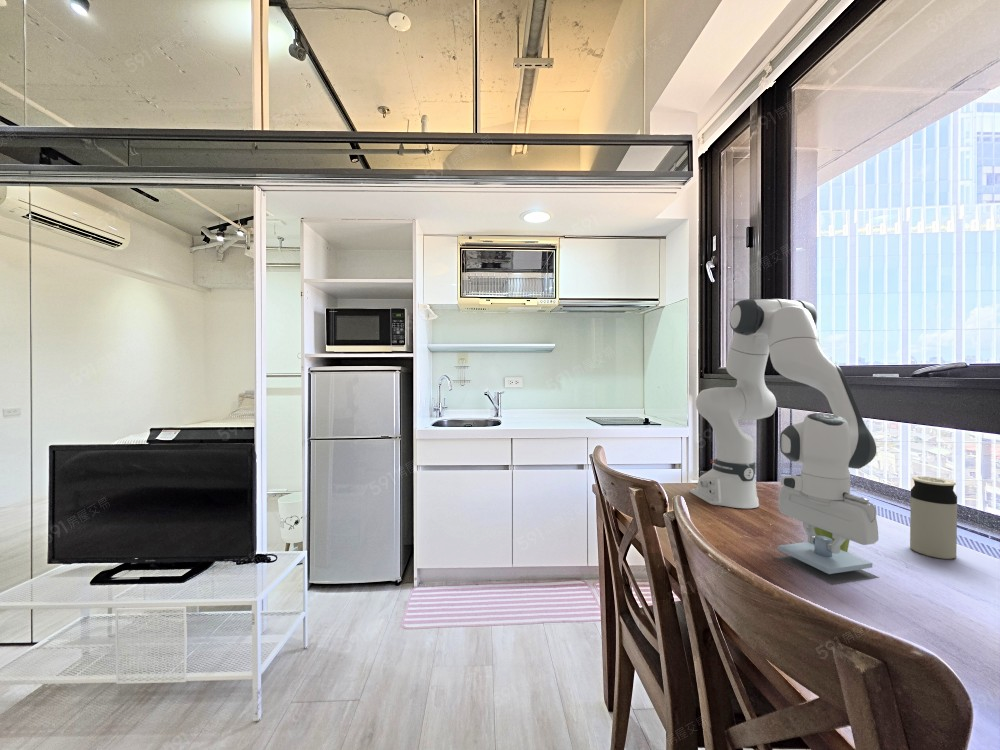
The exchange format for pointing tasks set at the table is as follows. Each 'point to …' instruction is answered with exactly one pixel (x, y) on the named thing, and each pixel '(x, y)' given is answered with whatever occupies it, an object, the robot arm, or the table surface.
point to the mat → (829, 578)
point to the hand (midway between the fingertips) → (823, 547)
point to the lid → (824, 556)
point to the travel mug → (933, 517)
